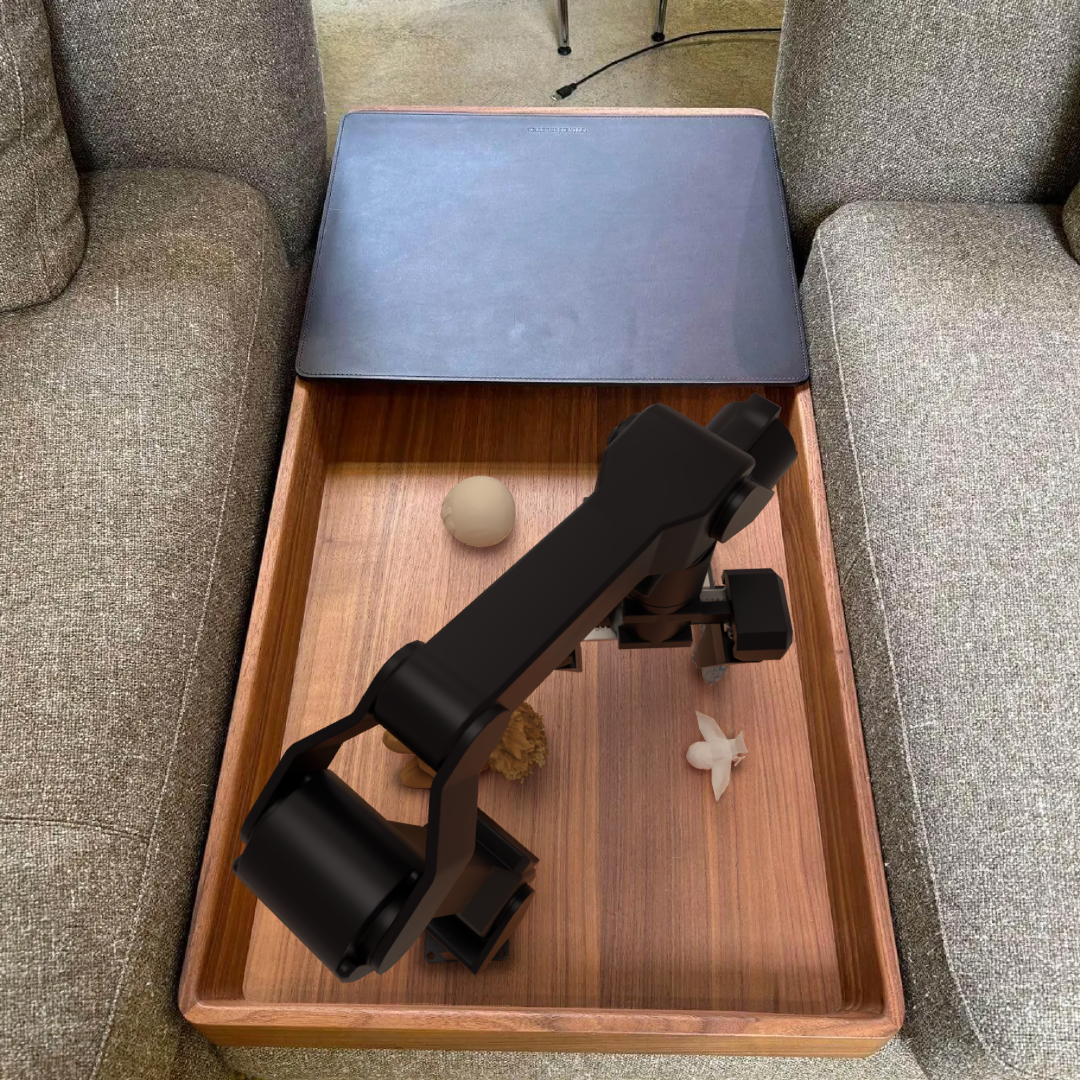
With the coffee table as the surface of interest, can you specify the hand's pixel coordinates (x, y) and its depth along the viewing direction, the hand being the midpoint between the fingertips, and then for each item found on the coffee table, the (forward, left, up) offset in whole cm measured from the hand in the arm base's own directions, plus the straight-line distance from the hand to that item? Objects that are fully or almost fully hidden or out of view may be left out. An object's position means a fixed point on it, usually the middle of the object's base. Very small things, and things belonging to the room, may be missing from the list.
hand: (638, 664), depth 68 cm
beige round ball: (+20, +13, -12) cm, 27 cm away
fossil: (+6, -8, -12) cm, 16 cm away
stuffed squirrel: (-2, +14, -12) cm, 18 cm away
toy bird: (-4, -7, -12) cm, 15 cm away
